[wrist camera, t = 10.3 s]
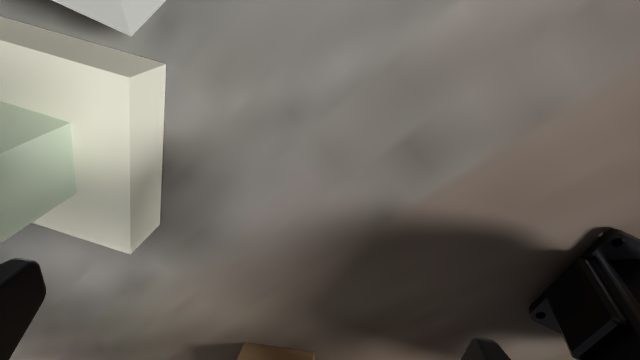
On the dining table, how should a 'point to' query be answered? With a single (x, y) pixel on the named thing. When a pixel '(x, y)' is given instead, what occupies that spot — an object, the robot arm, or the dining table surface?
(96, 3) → the die
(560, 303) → the robot arm
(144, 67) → the slab
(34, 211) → the tea tin
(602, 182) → the dining table surface
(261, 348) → the walnut cube
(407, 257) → the dining table surface
